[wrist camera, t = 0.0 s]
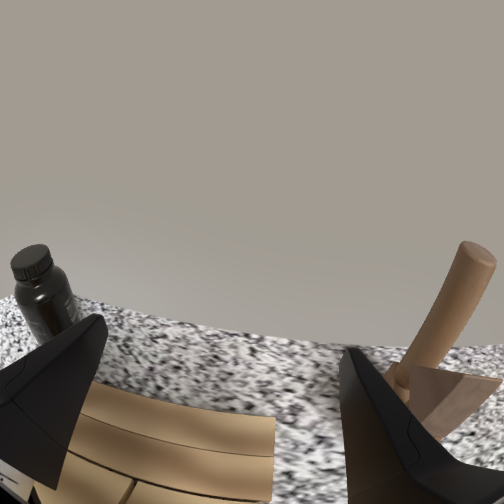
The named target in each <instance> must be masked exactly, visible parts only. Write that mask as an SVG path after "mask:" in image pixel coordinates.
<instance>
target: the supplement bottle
mask: <svg viewBox="0 0 504 504" xmlns="http://www.w3.org/2000/svg"><path fill="white" fill-rule="evenodd" d="M10 264H11V268H12V271H13V274H14V278H15V280H16V282H17V283H16V286H15V299H16V302H17V304H18V306H19V308H20V310H21V312H22V314H23V316H24V318H25V320H26V322H27V324H28V326H29V328H30V330H31V331H32V333H33V335H34V337H35V338H36V340H37V342H38V344H39V345H40V346H41V345H42V344H44V343H46V342H47V341H49V340H50V339H52V338H54V337H55V336H57V335H58V334H60V333H62V332H63V331H65V330H66V329H68V328H70V327H71V326H73V325H75V324H76V323H78V322H79V321H81V320H83V319H82V317H81V314H80V312H79V309H78V307H77V304H76V302H75V299H74V296H73V294H72V291H71V288H70V285H69V282H68V279H67V277H66V274H65V273H64V271H63V270H62V269H61V268H59V267H58V266H55V265H54V262H53V259H52V257H51V255H50V251H49V249H48V247H47V246H46V245H42V244H37V245H31V246H28V247H26V248H24V249H22V250H21V251H20V252H18V253H17V254H16V255H15V256H14V257H13V258H12V260H11V263H10Z"/></svg>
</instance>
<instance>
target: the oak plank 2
mask: <svg viewBox="0 0 504 504" xmlns="http://www.w3.org/2000/svg"><path fill="white" fill-rule="evenodd" d="M126 504H264V503H249V502H237V501H228V500H220V499H213V498H207V497H201V496H196V495H190V494H186V493H181V492H176V491H172V490H168V489H164V488H160V487H157V486H153V485H150V484H146V483H143V482H140V481H138V483H137V485H136V486H135V488H134V490H133V492H132V494H131V495H130V497H129V499H128V501H127V503H126Z"/></svg>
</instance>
